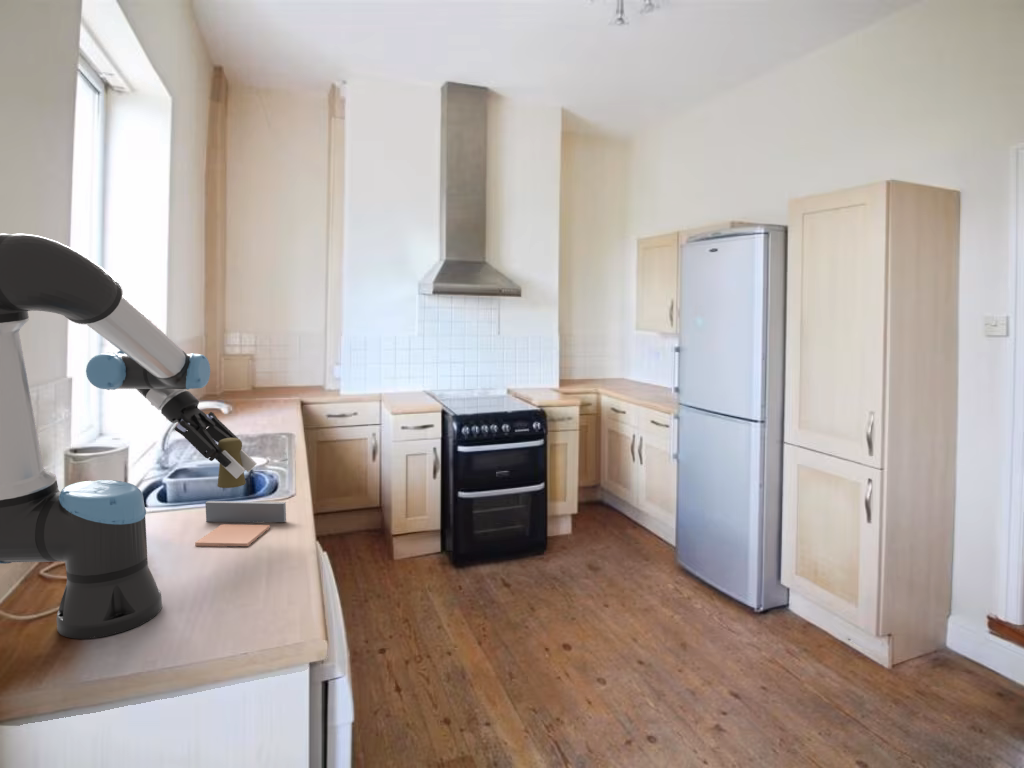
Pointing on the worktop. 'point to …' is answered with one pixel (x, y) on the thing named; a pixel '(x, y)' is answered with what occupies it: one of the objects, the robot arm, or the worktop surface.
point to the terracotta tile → (232, 535)
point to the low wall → (245, 511)
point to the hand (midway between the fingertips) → (246, 470)
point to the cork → (233, 449)
